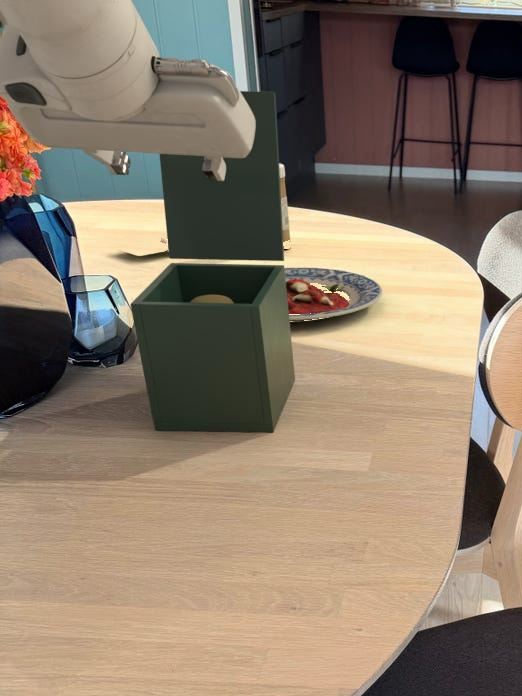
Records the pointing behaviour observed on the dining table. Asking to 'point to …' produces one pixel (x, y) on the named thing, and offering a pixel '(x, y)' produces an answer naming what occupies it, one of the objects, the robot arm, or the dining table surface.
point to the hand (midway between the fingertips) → (170, 171)
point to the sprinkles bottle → (284, 205)
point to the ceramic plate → (327, 304)
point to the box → (216, 347)
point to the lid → (228, 198)
